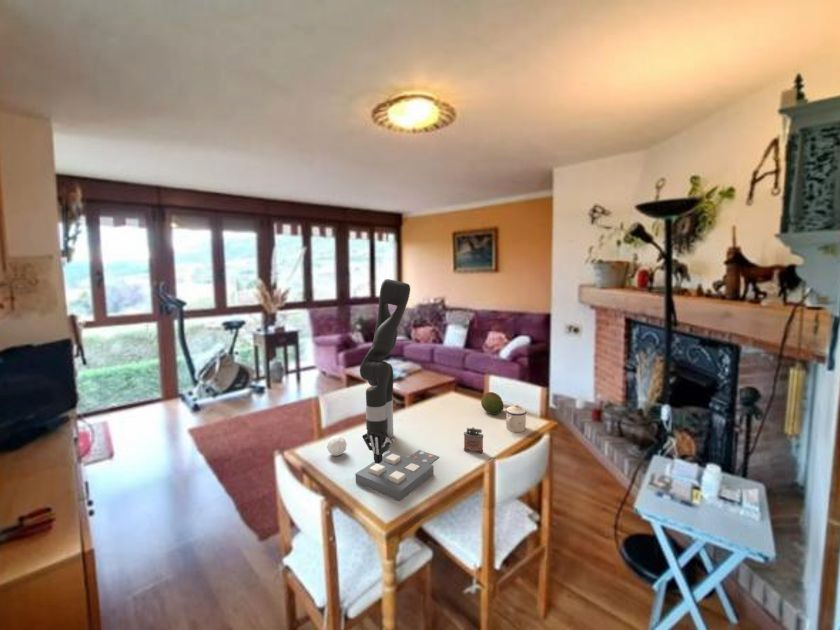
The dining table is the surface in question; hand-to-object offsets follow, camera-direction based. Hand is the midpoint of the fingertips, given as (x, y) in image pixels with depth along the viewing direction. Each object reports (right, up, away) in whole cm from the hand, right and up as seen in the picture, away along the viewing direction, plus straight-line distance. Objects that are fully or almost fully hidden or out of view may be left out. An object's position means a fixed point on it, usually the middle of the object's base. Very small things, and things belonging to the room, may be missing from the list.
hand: (378, 462), depth 143 cm
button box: (+6, -7, +2) cm, 9 cm away
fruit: (+52, +3, +63) cm, 82 cm away
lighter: (+37, -4, +22) cm, 43 cm away
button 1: (+5, -3, +8) cm, 10 cm away
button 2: (+12, -5, +3) cm, 14 cm away
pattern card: (+16, -4, +17) cm, 24 cm away
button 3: (0, -4, +1) cm, 5 cm away
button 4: (+7, -5, -4) cm, 10 cm away
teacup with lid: (+58, 0, +42) cm, 72 cm away
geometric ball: (-19, -4, +21) cm, 28 cm away
